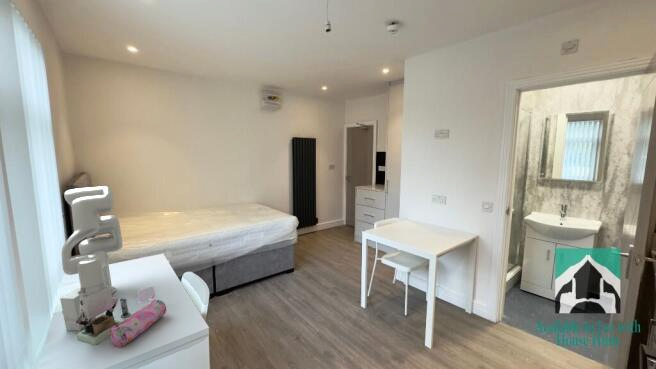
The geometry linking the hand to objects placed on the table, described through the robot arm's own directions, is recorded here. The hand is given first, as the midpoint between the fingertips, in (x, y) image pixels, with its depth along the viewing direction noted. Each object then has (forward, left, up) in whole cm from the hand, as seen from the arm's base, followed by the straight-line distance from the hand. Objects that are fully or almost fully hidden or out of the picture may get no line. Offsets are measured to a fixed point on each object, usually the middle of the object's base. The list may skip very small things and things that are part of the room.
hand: (100, 326), depth 112 cm
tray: (0, 0, -3) cm, 3 cm away
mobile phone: (-9, +27, -4) cm, 29 cm away
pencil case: (+15, +6, -4) cm, 16 cm away
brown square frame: (0, 0, -1) cm, 1 cm away
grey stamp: (-2, +11, -3) cm, 12 cm away
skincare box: (-15, +1, -3) cm, 15 cm away
